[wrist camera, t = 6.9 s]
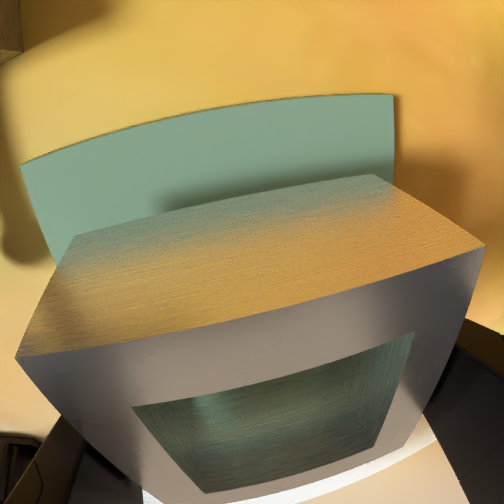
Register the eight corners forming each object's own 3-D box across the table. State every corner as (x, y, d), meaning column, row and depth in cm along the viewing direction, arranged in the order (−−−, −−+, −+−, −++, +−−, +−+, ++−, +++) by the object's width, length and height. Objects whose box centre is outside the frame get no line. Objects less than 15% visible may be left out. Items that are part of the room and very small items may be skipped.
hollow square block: (371, 173, 7) (486, 245, 4) (356, 365, 10) (402, 447, 7) (74, 235, 6) (14, 358, 3) (164, 413, 9) (173, 510, 6)
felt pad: (367, 342, 13) (373, 351, 13) (139, 398, 12) (139, 409, 11) (381, 93, 8) (393, 94, 7) (28, 160, 7) (19, 166, 6)
